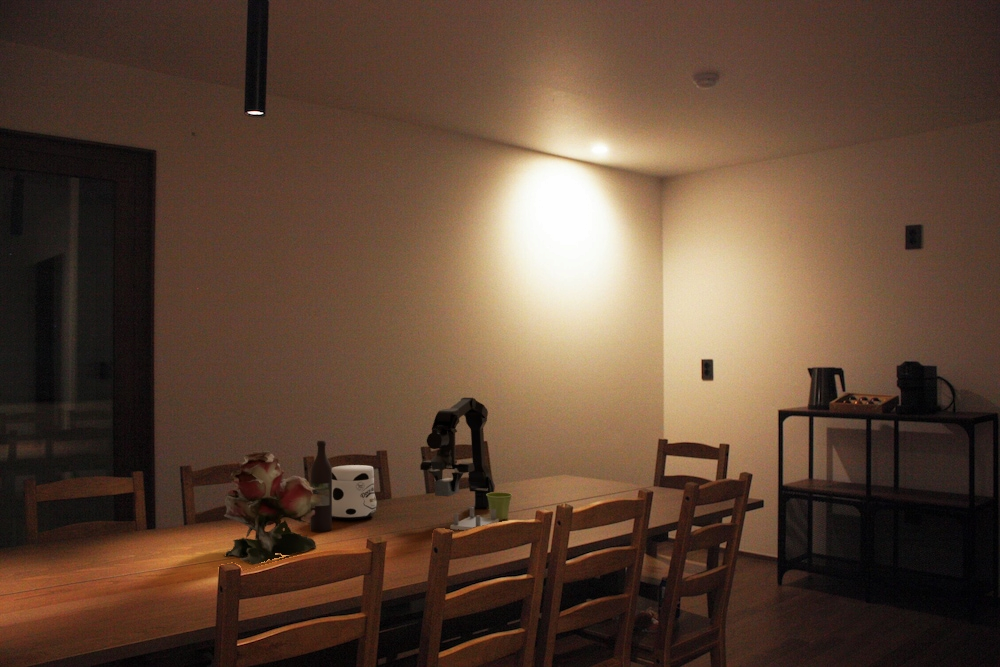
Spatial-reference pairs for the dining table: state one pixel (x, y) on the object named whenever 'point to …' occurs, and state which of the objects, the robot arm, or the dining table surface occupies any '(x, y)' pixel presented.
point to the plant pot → (499, 504)
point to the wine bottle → (321, 491)
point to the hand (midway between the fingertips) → (447, 491)
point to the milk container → (353, 492)
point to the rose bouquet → (268, 508)
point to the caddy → (473, 520)
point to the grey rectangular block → (445, 487)
